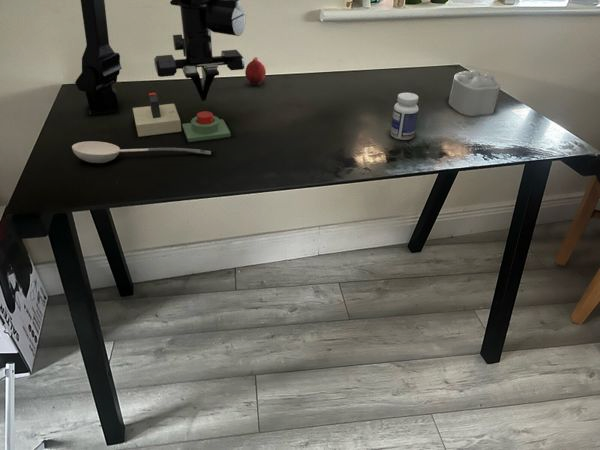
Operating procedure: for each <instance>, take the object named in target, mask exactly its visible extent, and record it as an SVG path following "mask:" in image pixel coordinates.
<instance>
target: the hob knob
mask: <svg viewBox="0 0 600 450" xmlns="http://www.w3.org/2000/svg"><path fill="white" fill-rule="evenodd" d="M147 95H148V100H149V106H150V107H151V112H152V116H153V118H159V117H161V114H160V108H159V105H160V103H159V102H160V101H159V98H158V94H157V93H156V92H149V93H148V94H147Z"/></svg>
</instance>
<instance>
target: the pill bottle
mask: <svg viewBox="0 0 600 450" xmlns="http://www.w3.org/2000/svg"><path fill="white" fill-rule="evenodd" d="M396 101H397V102H396V103H395V104H394V106H393V111H392V117H391V126H390V131H389V133H390V136H391V137H392V138H393V139H396V140H401V141H408V140H412V139H413V138H414V136H415V132H416V126H417V121H418V115H419V106H418V105H417V104H418V103H419V96H418V95H417V94H416V93H413V92H400V93H399V94H397V99H396Z"/></svg>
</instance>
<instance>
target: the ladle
mask: <svg viewBox="0 0 600 450" xmlns="http://www.w3.org/2000/svg"><path fill="white" fill-rule="evenodd" d="M71 149H72V152H73V154H74V155H75V156H76V157H77V158H79V159H80V160H82V161H84V162H87V163H91V164H92V163H93V164H106V163H109V162H110V161H113V160H115V159H116V158H117V157H118V156H119V154H120V153H135V152H181V153H182V152H183V153H190V154H191V153H192V154H200V155H206V156H207V155H208V156H211V155H212V151H211V150H204V149H200V148H199V149H198V148H185V147H147V148H128V149H127V148H125V149H123V148H122V149H121V147H119V146H118V145H117V144H113V143H110V142H104V141H93V140H89V141H81V142H80V141H79V142H77V143H74V144H73V145H71Z"/></svg>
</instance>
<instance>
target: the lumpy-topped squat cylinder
mask: <svg viewBox="0 0 600 450" xmlns="http://www.w3.org/2000/svg"><path fill="white" fill-rule="evenodd" d="M500 90H501V84H500V83H499V82H498V81H496V80H495V78H494V75H493V74H491V73H485V74H484V73H483V74H481V72H480V71H478V70H477V69H473V70H470V71H469V70H463V71H459V72H457V73H455V74H454V77H453V81H452V85H451V90H450V95H449V99H448V105H449V106H450V107H451V108H452V109H454V110H455V111H456V112H458V113H459V114H461V115H464V116H469V117H475V116H476V117H477V116H485V115H488V116H489V115H492V114H494V112H495V108H496V104H497V102H498V101H497V100H498V98H499V93H500Z"/></svg>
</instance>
